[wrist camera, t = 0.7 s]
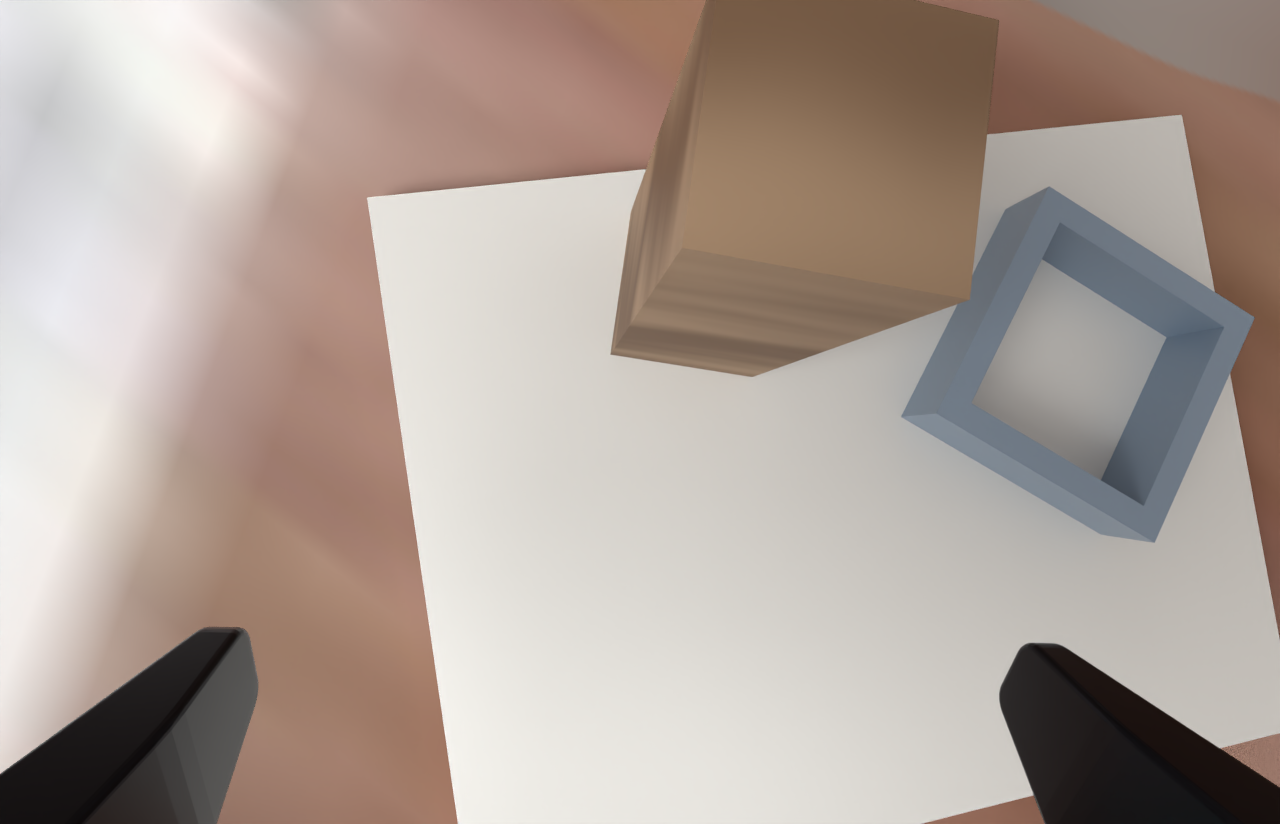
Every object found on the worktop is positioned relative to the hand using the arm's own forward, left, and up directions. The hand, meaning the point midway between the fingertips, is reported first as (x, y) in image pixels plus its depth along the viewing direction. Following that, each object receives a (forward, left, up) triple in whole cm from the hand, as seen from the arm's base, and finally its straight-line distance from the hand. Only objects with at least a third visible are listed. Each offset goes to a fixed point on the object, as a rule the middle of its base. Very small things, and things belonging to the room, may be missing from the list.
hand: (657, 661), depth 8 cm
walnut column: (+7, -4, -12) cm, 15 cm away
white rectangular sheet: (0, -9, -13) cm, 16 cm away
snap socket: (+3, -16, -12) cm, 20 cm away
